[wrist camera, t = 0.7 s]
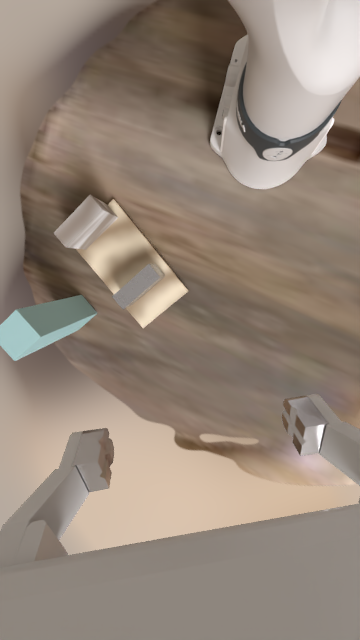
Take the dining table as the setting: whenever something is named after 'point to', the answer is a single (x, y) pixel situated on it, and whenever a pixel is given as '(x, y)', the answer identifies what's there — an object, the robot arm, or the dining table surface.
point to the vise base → (119, 254)
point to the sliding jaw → (138, 285)
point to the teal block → (43, 325)
